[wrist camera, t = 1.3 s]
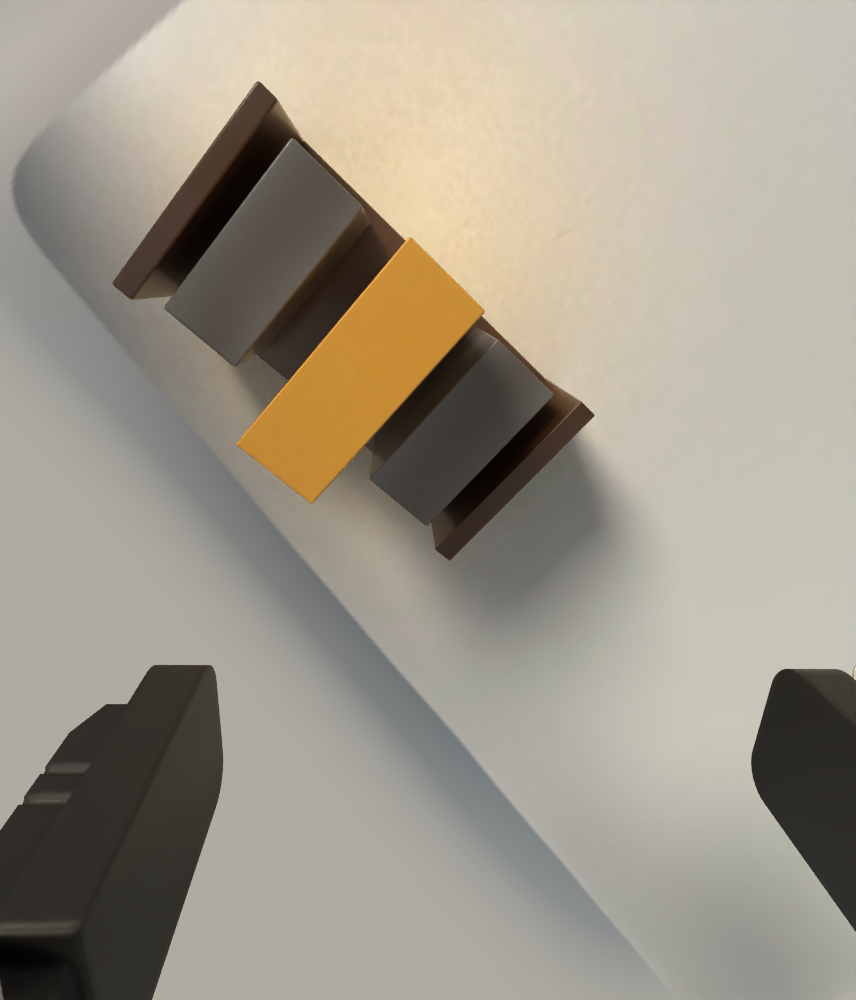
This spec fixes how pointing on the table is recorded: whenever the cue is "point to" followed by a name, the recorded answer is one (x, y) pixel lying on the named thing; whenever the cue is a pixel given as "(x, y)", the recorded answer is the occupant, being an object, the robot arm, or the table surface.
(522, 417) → the brown book rack
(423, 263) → the ochre book
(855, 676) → the cup
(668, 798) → the table surface
